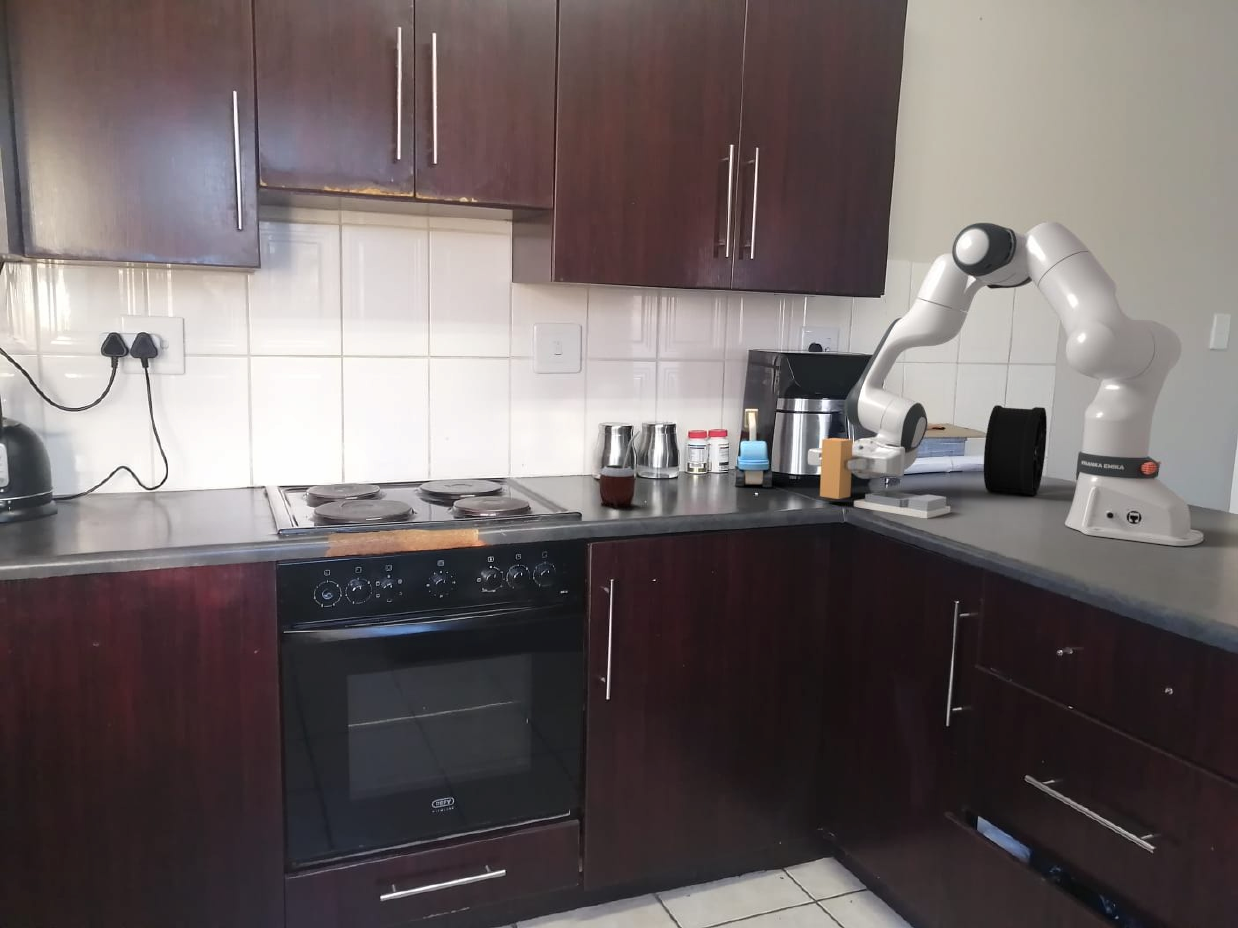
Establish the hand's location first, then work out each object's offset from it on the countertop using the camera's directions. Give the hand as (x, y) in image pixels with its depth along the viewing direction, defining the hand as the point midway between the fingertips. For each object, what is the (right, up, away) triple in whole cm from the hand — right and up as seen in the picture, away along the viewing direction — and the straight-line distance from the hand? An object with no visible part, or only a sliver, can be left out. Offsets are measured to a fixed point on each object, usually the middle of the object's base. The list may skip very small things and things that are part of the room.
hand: (834, 463), depth 193 cm
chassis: (+13, -9, -3) cm, 16 cm away
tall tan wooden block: (+1, -7, +2) cm, 7 cm away
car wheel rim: (+46, -7, +21) cm, 51 cm away
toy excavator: (-13, -5, +27) cm, 30 cm away
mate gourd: (-45, -9, -7) cm, 46 cm away
